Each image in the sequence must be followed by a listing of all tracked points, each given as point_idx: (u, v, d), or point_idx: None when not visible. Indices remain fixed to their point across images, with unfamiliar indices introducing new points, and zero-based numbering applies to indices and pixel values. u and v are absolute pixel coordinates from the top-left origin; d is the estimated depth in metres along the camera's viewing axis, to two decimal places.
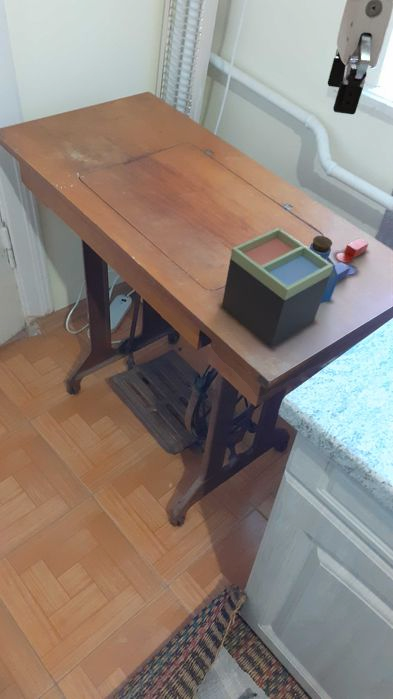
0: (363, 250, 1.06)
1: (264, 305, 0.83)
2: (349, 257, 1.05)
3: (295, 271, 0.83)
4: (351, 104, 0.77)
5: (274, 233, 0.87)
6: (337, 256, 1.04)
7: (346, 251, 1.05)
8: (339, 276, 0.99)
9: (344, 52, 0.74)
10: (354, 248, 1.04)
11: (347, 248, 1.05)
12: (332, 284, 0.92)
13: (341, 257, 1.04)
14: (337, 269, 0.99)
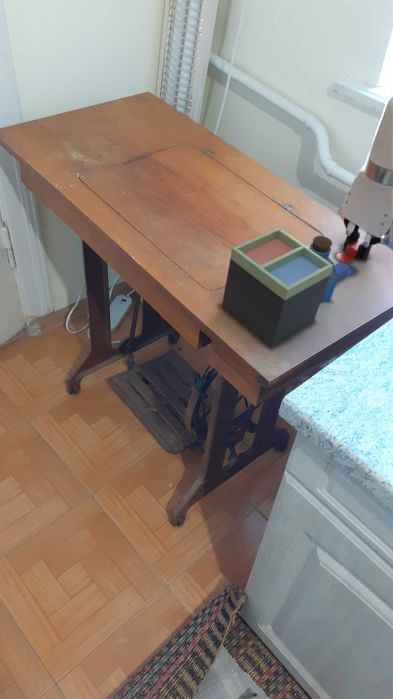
0: None
1: (264, 305, 0.83)
2: (349, 257, 1.05)
3: (295, 271, 0.83)
4: (367, 254, 1.05)
5: (274, 233, 0.87)
6: (337, 256, 1.04)
7: (346, 251, 1.05)
8: (339, 276, 0.99)
9: (379, 231, 0.97)
10: (354, 248, 1.04)
11: (347, 248, 1.05)
12: (332, 284, 0.92)
13: (341, 257, 1.04)
14: (337, 269, 0.99)
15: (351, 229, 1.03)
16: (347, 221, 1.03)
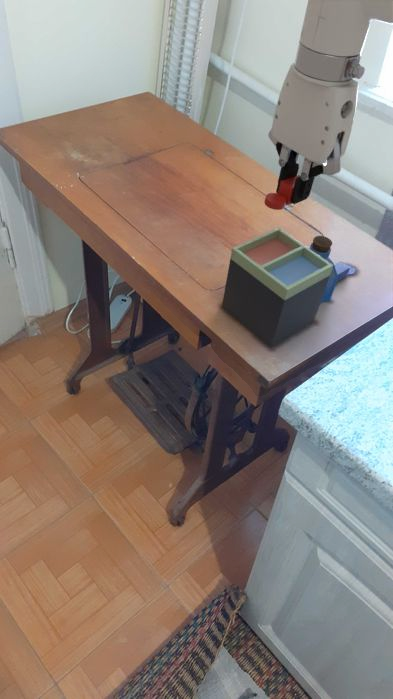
0: None
1: (264, 305, 0.83)
2: (283, 198, 0.77)
3: (295, 271, 0.83)
4: (309, 193, 0.77)
5: (274, 233, 0.87)
6: (267, 196, 0.77)
7: (280, 191, 0.78)
8: (339, 276, 0.99)
9: (319, 154, 0.70)
10: (290, 185, 0.76)
11: (281, 186, 0.77)
12: (332, 284, 0.92)
13: (273, 198, 0.77)
14: (337, 269, 0.99)
15: (285, 157, 0.75)
16: (280, 146, 0.76)
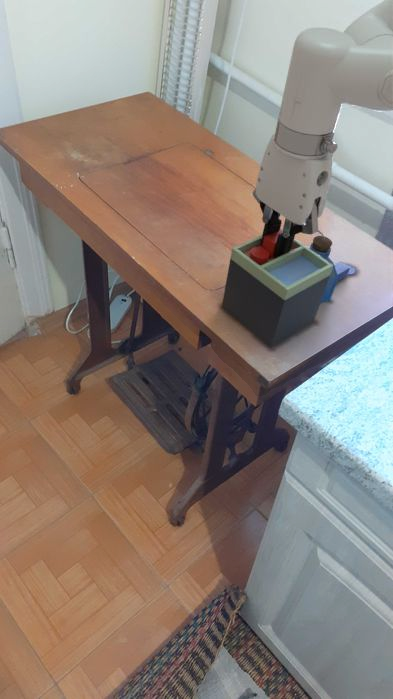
0: None
1: (264, 305, 0.83)
2: (267, 252, 0.83)
3: (295, 271, 0.83)
4: (290, 247, 0.83)
5: None
6: (252, 250, 0.83)
7: (264, 245, 0.84)
8: (339, 276, 0.99)
9: (298, 216, 0.76)
10: (272, 241, 0.82)
11: (265, 241, 0.83)
12: (332, 284, 0.92)
13: (257, 252, 0.83)
14: (337, 269, 0.99)
15: (268, 215, 0.81)
16: (263, 205, 0.82)
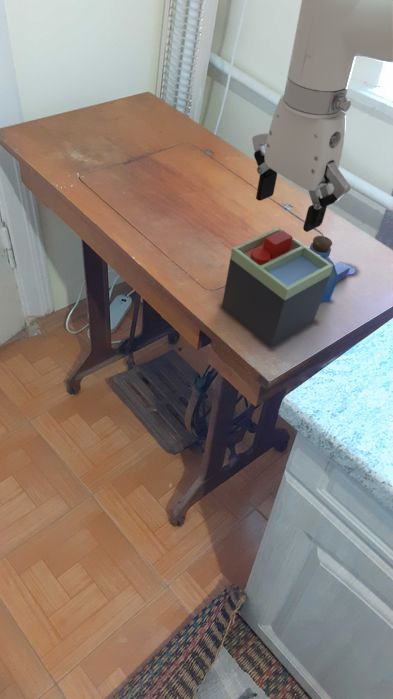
0: (286, 245, 0.85)
1: (264, 305, 0.83)
2: (268, 253, 0.83)
3: (295, 271, 0.83)
4: (321, 220, 0.77)
5: (274, 233, 0.87)
6: (252, 252, 0.83)
7: (265, 246, 0.84)
8: (339, 276, 0.99)
9: (310, 182, 0.72)
10: (273, 242, 0.82)
11: (265, 242, 0.84)
12: (332, 284, 0.92)
13: (258, 254, 0.83)
14: (337, 269, 0.99)
15: (263, 165, 0.78)
16: (258, 155, 0.79)
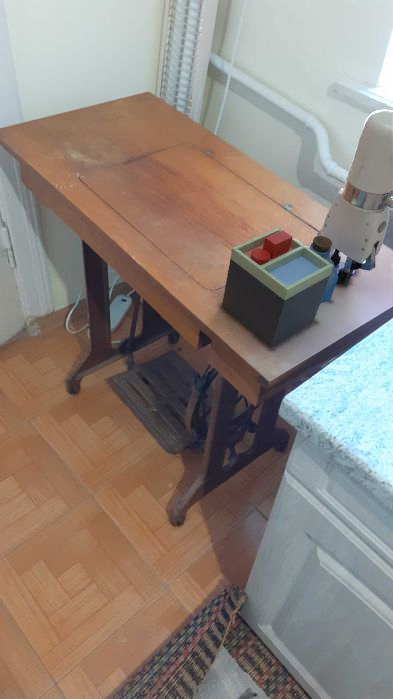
0: (286, 245, 0.85)
1: (264, 305, 0.83)
2: (268, 253, 0.83)
3: (295, 271, 0.83)
4: (349, 279, 0.99)
5: (274, 233, 0.87)
6: (252, 252, 0.83)
7: (265, 246, 0.84)
8: None
9: (360, 256, 0.91)
10: (273, 242, 0.82)
11: (265, 242, 0.84)
12: (332, 284, 0.92)
13: (258, 254, 0.83)
14: (337, 269, 0.99)
15: (331, 253, 0.97)
16: None
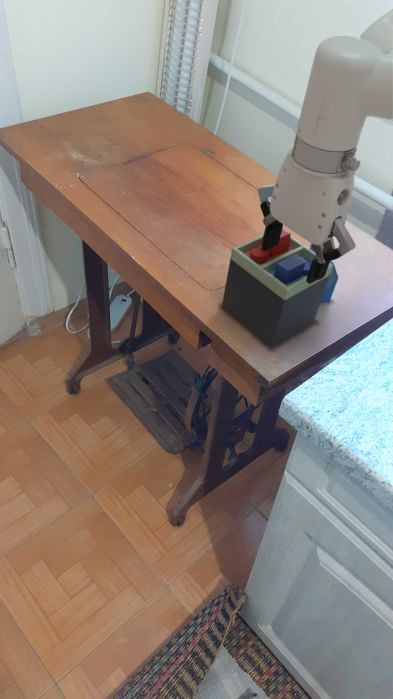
0: (285, 242, 0.84)
1: (264, 305, 0.83)
2: (267, 251, 0.83)
3: None
4: (325, 273, 0.76)
5: None
6: (251, 250, 0.83)
7: None
8: (292, 272, 0.79)
9: (316, 237, 0.71)
10: None
11: None
12: (332, 284, 0.92)
13: (256, 251, 0.83)
14: (289, 263, 0.79)
15: (269, 217, 0.77)
16: (264, 206, 0.77)
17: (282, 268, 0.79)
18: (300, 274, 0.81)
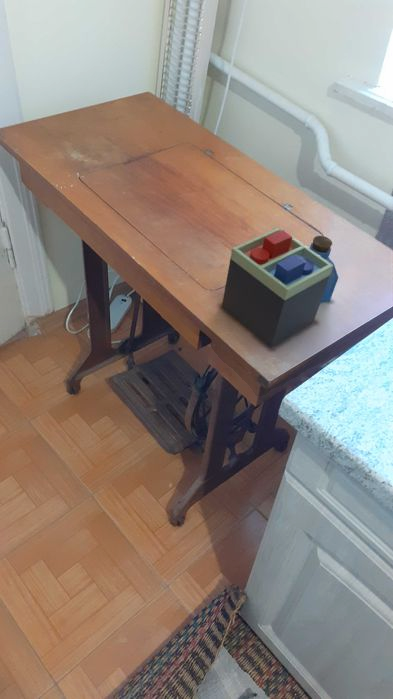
0: (286, 245, 0.85)
1: (264, 305, 0.83)
2: (267, 253, 0.83)
3: None
4: None
5: None
6: (252, 251, 0.83)
7: (264, 245, 0.84)
8: (292, 272, 0.79)
9: None
10: (272, 242, 0.83)
11: (265, 242, 0.84)
12: (332, 284, 0.92)
13: (257, 253, 0.83)
14: (289, 263, 0.79)
15: None
16: None
17: (282, 268, 0.79)
18: (300, 274, 0.81)
